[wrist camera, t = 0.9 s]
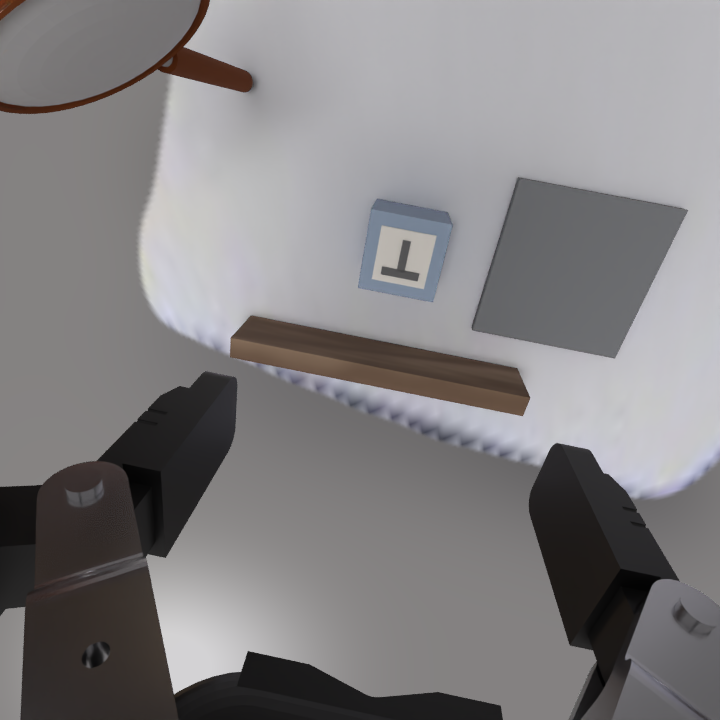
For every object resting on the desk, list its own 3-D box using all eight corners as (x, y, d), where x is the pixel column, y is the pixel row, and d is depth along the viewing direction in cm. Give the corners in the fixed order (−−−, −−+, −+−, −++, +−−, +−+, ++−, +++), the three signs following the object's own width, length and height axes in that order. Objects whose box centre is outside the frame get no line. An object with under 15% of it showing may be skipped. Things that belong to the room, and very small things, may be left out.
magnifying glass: (204, 130, 30) (-92, 125, 13) (189, 105, 30) (-145, 61, 12) (312, 59, 28) (130, -75, 10) (298, 29, 27) (77, -170, 9)
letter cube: (377, 198, 31) (370, 209, 26) (447, 212, 31) (453, 225, 26) (365, 267, 33) (357, 288, 29) (430, 280, 33) (433, 303, 29)
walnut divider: (251, 315, 36) (230, 337, 32) (517, 368, 36) (530, 397, 32) (250, 333, 37) (230, 357, 33) (510, 385, 36) (522, 416, 32)
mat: (518, 177, 29) (520, 178, 29) (682, 208, 29) (688, 210, 29) (471, 327, 35) (472, 330, 34) (611, 354, 34) (614, 358, 34)
